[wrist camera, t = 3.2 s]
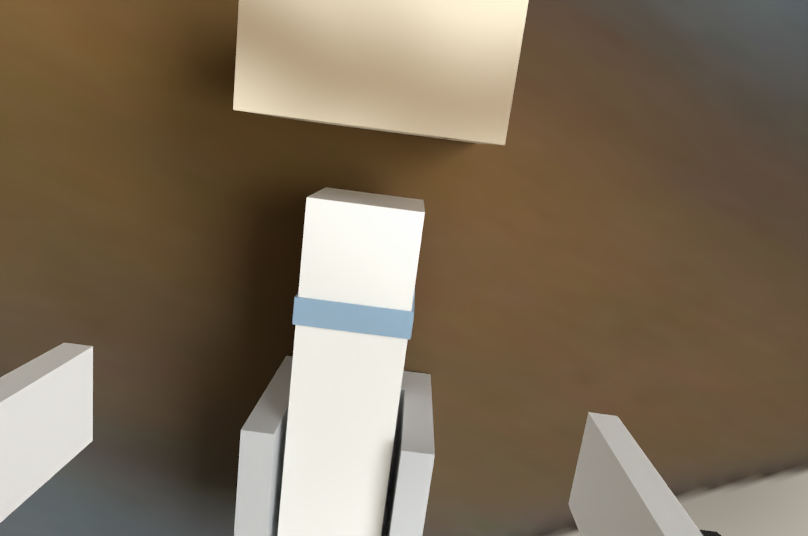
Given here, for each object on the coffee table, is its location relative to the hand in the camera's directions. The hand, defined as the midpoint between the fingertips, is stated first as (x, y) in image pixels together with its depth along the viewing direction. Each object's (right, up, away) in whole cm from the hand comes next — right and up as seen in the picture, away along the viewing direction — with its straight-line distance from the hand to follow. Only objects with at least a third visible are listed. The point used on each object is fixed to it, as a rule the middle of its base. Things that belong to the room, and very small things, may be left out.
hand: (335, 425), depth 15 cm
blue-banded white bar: (0, 0, +10) cm, 10 cm away
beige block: (+1, +12, +9) cm, 15 cm away
